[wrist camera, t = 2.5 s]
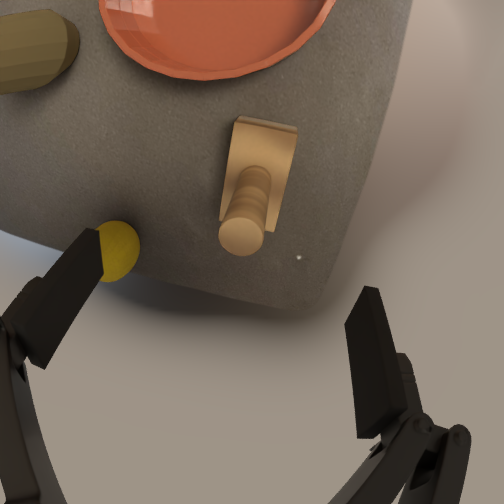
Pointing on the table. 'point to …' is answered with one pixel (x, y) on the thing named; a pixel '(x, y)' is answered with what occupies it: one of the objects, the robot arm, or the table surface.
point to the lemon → (118, 249)
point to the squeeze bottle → (35, 49)
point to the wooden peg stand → (254, 182)
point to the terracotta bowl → (212, 33)
